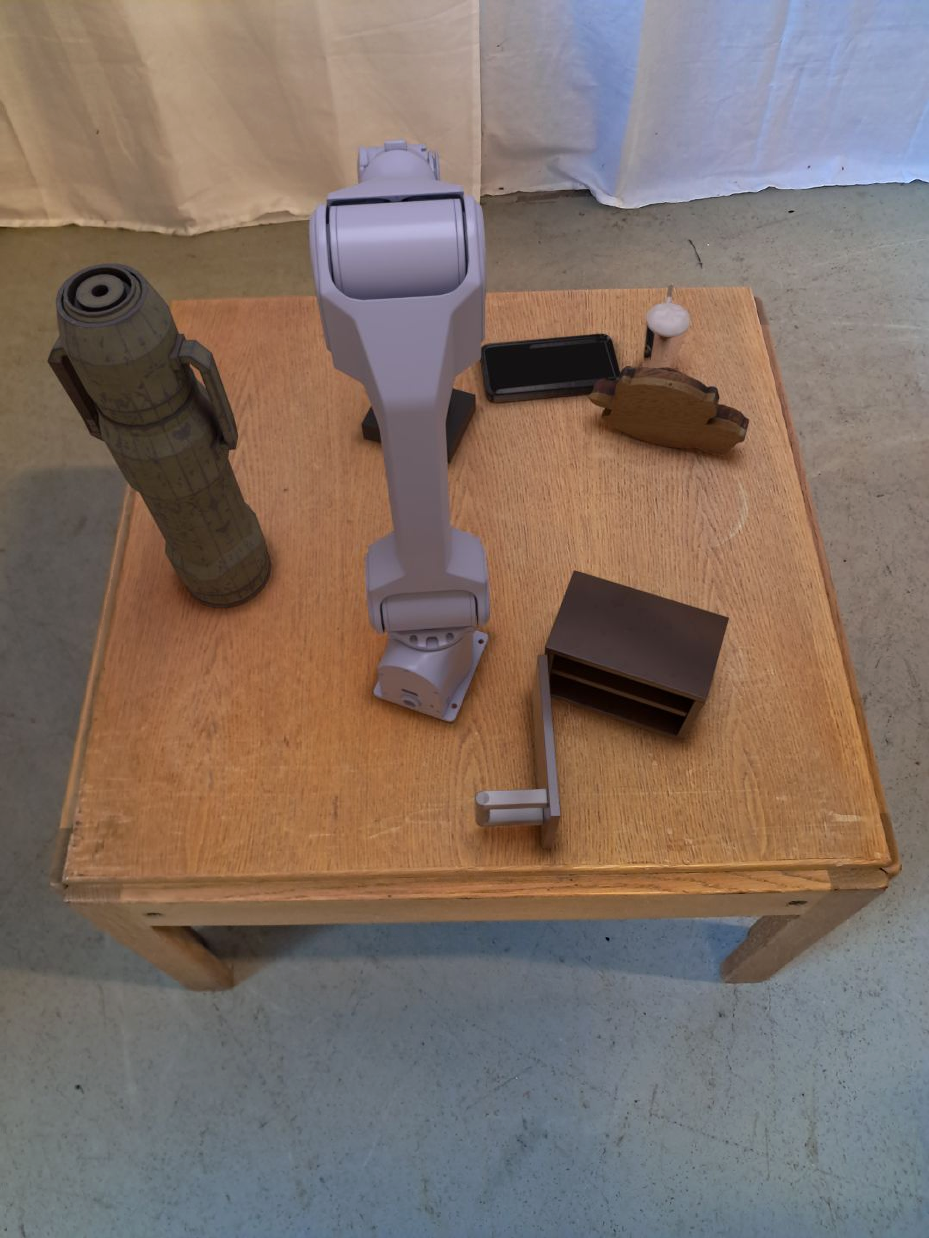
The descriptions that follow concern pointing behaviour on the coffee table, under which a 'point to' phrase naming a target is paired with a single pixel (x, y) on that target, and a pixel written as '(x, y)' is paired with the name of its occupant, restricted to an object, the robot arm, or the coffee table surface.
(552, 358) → the phone
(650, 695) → the cupboard
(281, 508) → the coffee table surface
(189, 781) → the coffee table surface
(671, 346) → the milkshake
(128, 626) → the coffee table surface
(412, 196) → the robot arm
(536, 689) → the door
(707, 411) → the wooden carving
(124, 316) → the thermos
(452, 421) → the switch block
